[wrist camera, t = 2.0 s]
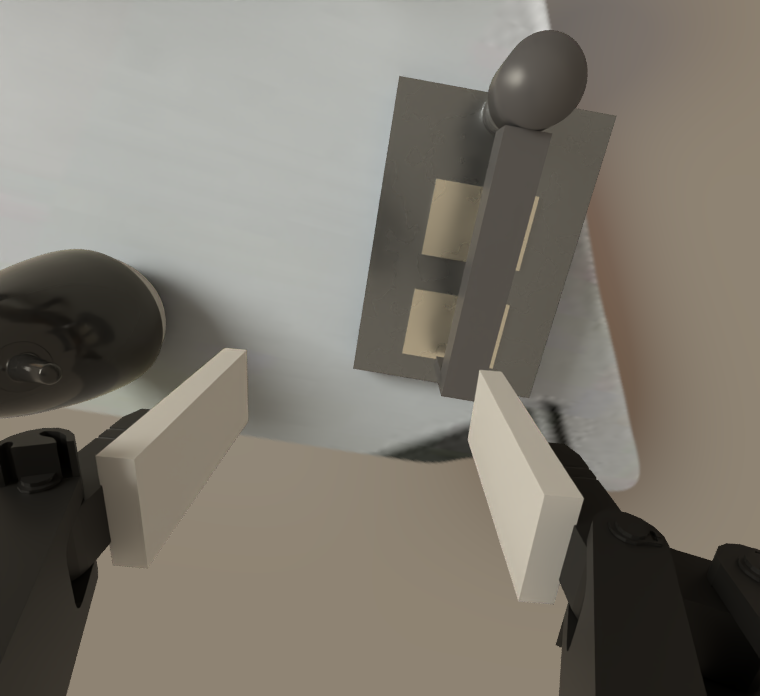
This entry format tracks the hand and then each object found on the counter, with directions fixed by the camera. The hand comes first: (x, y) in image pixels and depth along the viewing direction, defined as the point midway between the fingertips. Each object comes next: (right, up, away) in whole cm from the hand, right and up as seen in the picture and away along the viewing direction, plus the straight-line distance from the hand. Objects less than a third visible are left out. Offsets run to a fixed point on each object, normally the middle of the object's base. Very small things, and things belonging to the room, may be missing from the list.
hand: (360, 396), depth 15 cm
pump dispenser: (-20, +5, +20) cm, 28 cm away
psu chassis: (+7, +9, +17) cm, 21 cm away
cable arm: (+7, +9, +13) cm, 17 cm away
